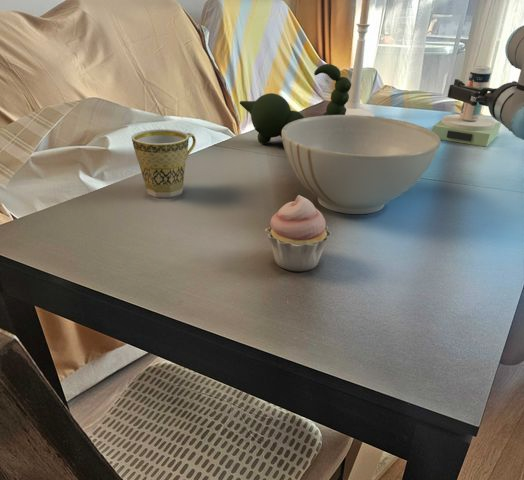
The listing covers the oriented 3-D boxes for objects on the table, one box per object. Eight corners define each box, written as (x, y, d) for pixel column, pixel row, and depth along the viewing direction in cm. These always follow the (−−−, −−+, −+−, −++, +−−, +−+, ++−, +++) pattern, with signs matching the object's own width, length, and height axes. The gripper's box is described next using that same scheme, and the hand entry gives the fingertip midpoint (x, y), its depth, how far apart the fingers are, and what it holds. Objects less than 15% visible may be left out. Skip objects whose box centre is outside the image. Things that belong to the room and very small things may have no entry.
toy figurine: (338, 151, 125) (241, 134, 128) (355, 65, 114) (248, 47, 116) (335, 162, 118) (232, 143, 120) (353, 71, 106) (238, 53, 109)
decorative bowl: (256, 215, 87) (257, 142, 80) (304, 170, 107) (308, 109, 100) (413, 243, 80) (430, 165, 72) (433, 189, 100) (448, 124, 92)
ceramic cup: (161, 205, 90) (155, 147, 84) (127, 191, 95) (120, 135, 89) (214, 188, 98) (212, 133, 92) (180, 175, 103) (177, 123, 97)
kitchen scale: (497, 134, 135) (502, 118, 133) (486, 147, 125) (490, 130, 123) (445, 126, 141) (448, 111, 138) (430, 138, 131) (433, 121, 128)
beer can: (462, 116, 133) (475, 65, 126) (480, 119, 131) (494, 67, 124) (456, 120, 130) (469, 67, 123) (475, 123, 128) (489, 69, 121)
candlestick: (322, 117, 146) (333, -10, 128) (342, 109, 155) (355, -11, 137) (362, 124, 141) (379, -8, 123) (381, 116, 149) (400, -8, 131)
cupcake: (267, 246, 78) (269, 181, 72) (327, 250, 77) (335, 185, 71) (260, 275, 70) (262, 205, 64) (327, 280, 70) (335, 210, 64)
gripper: (447, 122, 108) (428, 101, 125) (566, 126, 107) (530, 105, 124) (456, 83, 103) (435, 67, 120) (580, 87, 102) (541, 70, 119)
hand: (483, 86), depth 122 cm, fingers open, 13 cm apart
